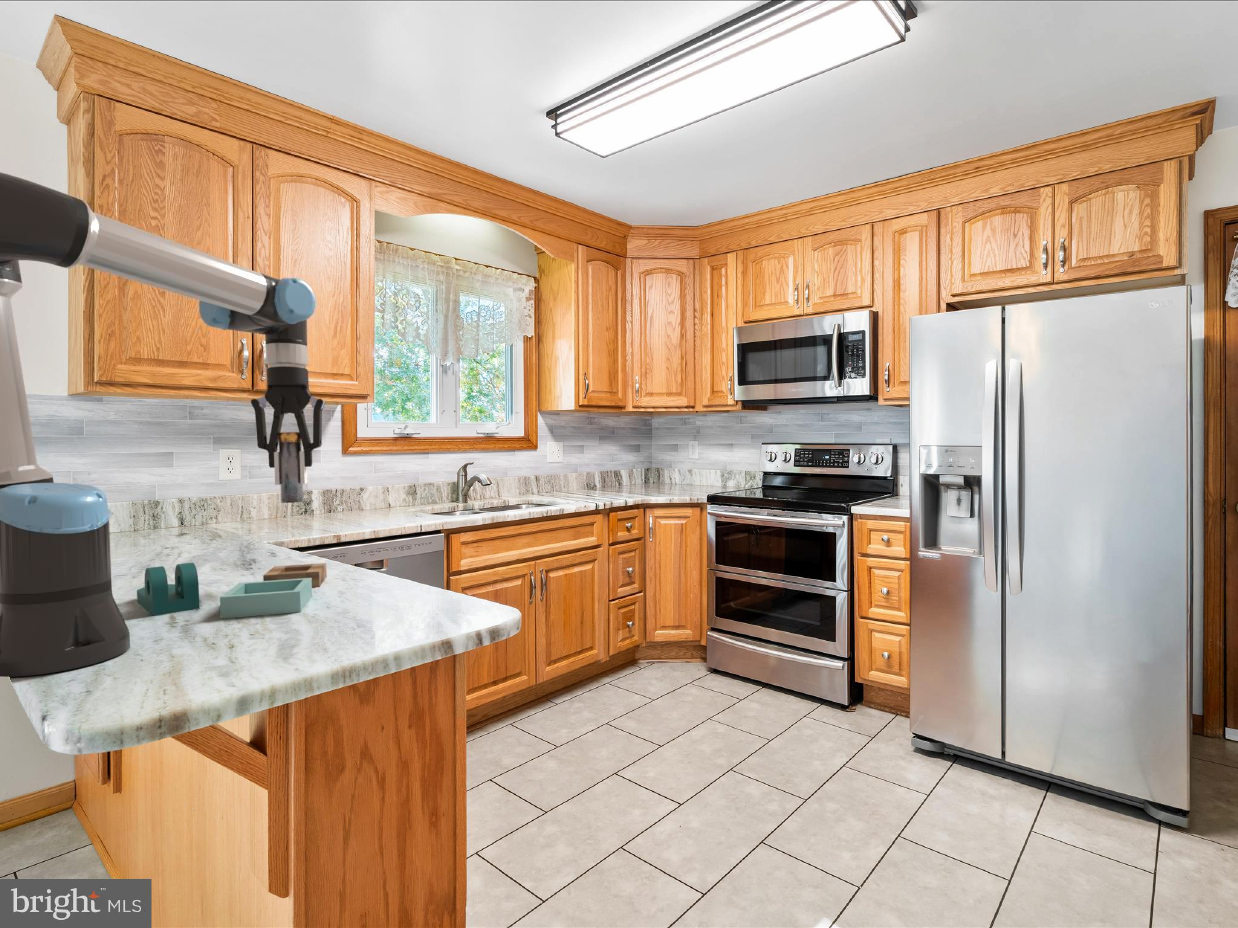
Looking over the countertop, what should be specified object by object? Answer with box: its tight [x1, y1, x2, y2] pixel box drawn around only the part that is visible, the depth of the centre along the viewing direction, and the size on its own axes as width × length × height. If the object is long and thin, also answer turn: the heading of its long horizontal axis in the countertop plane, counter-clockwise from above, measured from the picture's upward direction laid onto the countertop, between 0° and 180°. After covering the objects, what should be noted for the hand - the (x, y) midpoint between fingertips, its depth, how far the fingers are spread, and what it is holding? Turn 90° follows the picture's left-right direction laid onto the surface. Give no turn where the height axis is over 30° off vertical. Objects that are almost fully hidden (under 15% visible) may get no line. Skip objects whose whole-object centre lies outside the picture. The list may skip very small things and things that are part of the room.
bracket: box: [136, 562, 201, 617], centre depth 122 cm, size 18×7×8 cm, turn 44°
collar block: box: [262, 562, 328, 588], centre depth 137 cm, size 10×10×3 cm
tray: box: [219, 578, 313, 619], centre depth 118 cm, size 12×12×4 cm
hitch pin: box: [278, 431, 304, 504], centre depth 136 cm, size 4×4×14 cm
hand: (291, 483), depth 136 cm, fingers closed on hitch pin, 4 cm apart
